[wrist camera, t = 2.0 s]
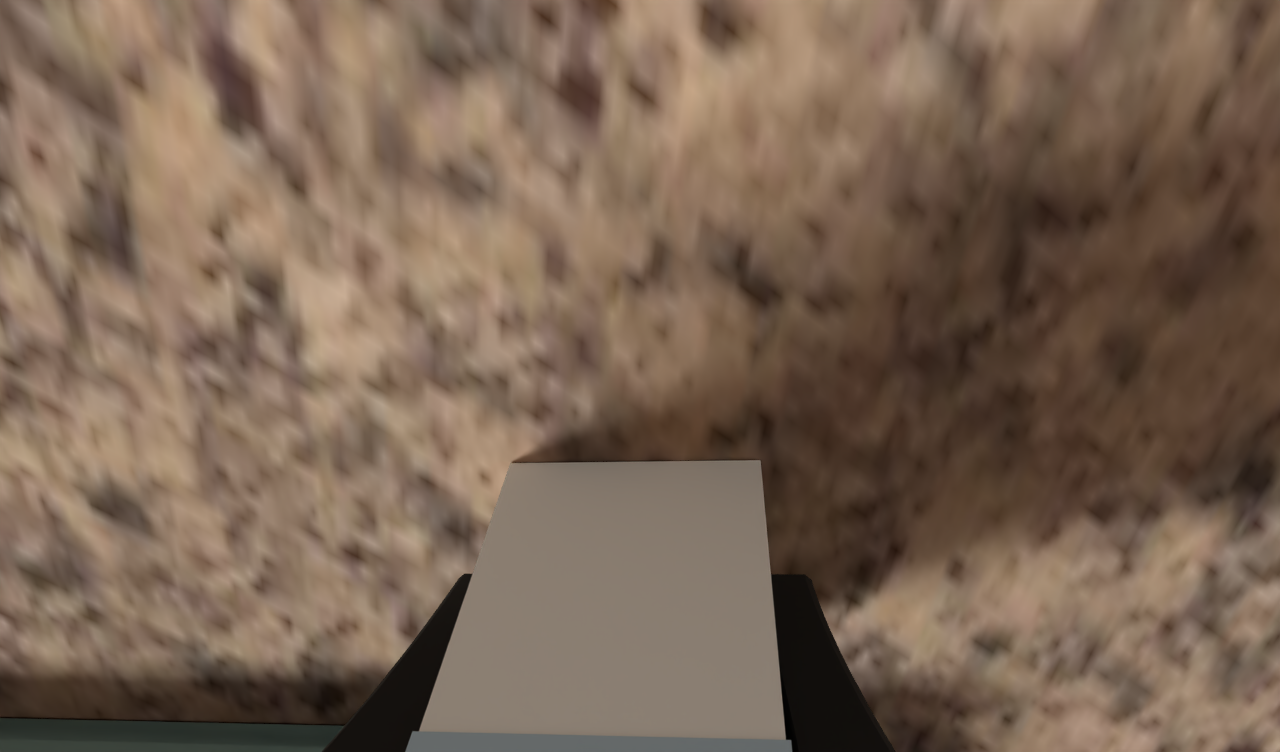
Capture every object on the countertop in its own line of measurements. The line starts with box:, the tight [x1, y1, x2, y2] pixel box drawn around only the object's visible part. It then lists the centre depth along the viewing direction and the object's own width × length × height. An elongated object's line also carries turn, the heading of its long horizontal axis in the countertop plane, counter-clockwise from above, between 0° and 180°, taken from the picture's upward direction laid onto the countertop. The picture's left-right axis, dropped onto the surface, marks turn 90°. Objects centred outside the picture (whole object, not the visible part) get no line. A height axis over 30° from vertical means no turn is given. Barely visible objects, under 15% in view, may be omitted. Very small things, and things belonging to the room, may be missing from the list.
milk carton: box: [405, 460, 792, 752], centre depth 11 cm, size 4×4×6 cm
